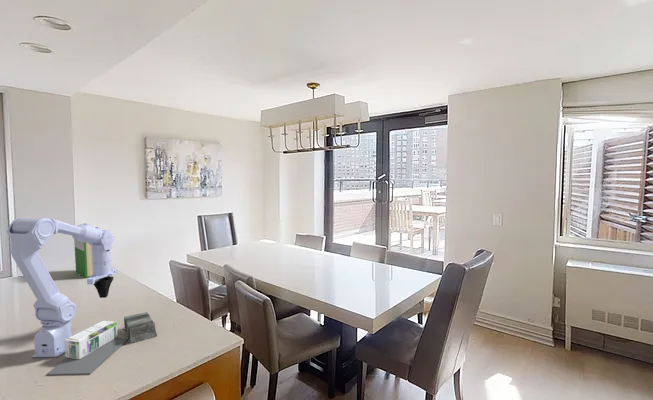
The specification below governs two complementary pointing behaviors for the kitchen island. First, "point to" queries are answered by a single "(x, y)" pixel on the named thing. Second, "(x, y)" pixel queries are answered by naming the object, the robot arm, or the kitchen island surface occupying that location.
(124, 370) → the kitchen island surface
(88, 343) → the syrup box
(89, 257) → the hardback book
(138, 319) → the stone block
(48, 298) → the robot arm
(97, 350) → the mat
